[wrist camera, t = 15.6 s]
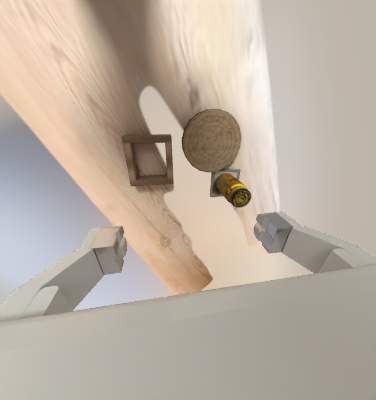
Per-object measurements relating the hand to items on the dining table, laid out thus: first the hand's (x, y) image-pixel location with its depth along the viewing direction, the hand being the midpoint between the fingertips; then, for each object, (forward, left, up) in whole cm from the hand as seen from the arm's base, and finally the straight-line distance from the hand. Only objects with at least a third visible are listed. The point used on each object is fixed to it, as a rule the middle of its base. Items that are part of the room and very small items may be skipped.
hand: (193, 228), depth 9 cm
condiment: (+13, +17, -37) cm, 43 cm away
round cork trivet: (0, +12, -38) cm, 39 cm away
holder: (+4, -5, -37) cm, 38 cm away
